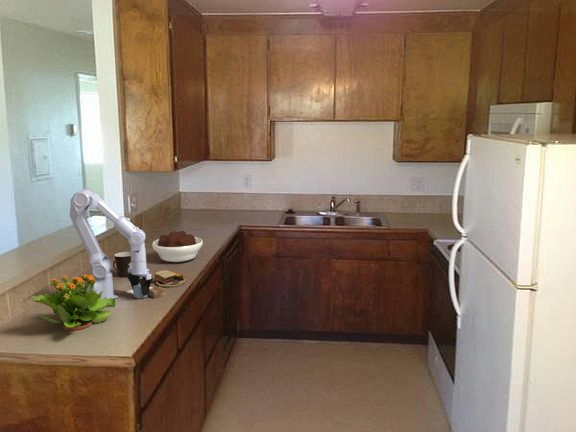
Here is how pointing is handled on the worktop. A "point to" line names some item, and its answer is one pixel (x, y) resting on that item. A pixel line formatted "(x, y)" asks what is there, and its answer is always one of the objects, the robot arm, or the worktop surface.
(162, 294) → the walnut block
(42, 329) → the worktop surface
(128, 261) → the coffee mug
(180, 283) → the toy sandwich meal
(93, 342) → the worktop surface
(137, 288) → the blue block
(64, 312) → the potted flower
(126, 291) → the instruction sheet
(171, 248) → the bowl of brownies
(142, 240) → the robot arm
